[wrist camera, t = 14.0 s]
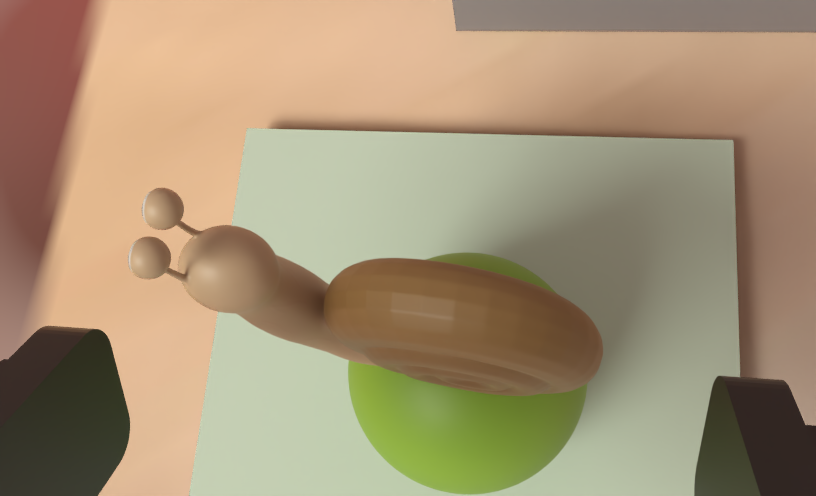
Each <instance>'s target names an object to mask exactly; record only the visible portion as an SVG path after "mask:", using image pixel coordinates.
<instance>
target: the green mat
mask: <svg viewBox="0 0 816 496" xmlns="http://www.w3.org/2000/svg"><path fill="white" fill-rule="evenodd" d="M232 226H238V227H242V228H245V229H248V230H250V231H252V232H254V233H256V234H257V235H259V236H260V237H262V238H263V239H264V240H265V241H266V242H267V243H268V244H269V245H270V247H271V248H272V249H273V251H274V253H275V255H278V256H280V257H283V258H285V259H287V260H290V261H292V262H294V263H296V264H298V265H300V266H302V267H304V268H305V269H307V270H309V271H311V272H312V273H314V274H315V275H317V276H318V277H320V278H321V279H322V280H323V281H325V282H326V283H328V284H329V285H330V283H331V281H332V280H333V279H334V278H335V277H336V276H337V275H338V274H339V273H340V272H341V271H342V270H344V269H345V268H347V267H349V266H351V265H353V264H356V263H359V262H362V261H365V260H371V259H378V258H410V259H422V260H426V259H429V258H432V257H436V256H440V255H444V254H451V253H463V252H470V253H482V254H488V255H493V256H497V257H501V258H504V259H507V260H510V261H512V262H514V263H517V264H519V265H521V266H523V267H525V268H526V269H528V270H530V271H531V272H533V273H534V274H536V275H537V276H538V277H540V278H541V279H542V280H544V281H545V282H546V283H547V284H548V285H549V286H550V287H551V288H552V289H553V290H554V291H555V292H556V293H557V294H558V295H560V296H562V297H563V298H565V299H567V300H569V301H570V302H572V303H573V304H575V305H576V306H578V307H579V308H580V309H581V310H582V311H584V312H585V313H586V314H587V315H588V316H589V317H590V318H591V320H592V321H593V322H594V324H595V326H596V327H597V329H598V331H599V333H600V335H601V338H602V343H603V357H602V360H601V364H600V367H599V369H598V371H597V373H596V374H595V376H594V377H593V378H592V379H591V380H590V381H589V382H588V383H587V392H586V398H585V403H584V407H583V410H582V413H581V416H580V419H579V421H578V424H577V426H576V428H575V430H574V432H573V434H572V436H571V437H570V439H569V440H568V442H567V443H566V445H565V446H564V448H563V449H562V450H561V451H560V453H559V454H558V455H557V456H556V457H555V458H554V459H553V460H552V461H551V462H550V463H549V464H548V465H547V466H546V467H544V468H543V469H542V470H541V471H539V472H538V473H537V474H535V475H534V476H532V477H530V478H529V479H527V480H525V481H523V482H521V483H519V484H517V485H515V486H512V487H509V488H506V489H503V490H500V491H496V492H491V493H485V494H454V493H448V492H443V491H439V490H435V489H432V488H429V487H426V486H424V485H422V484H419V483H417V482H415V481H413V480H411V479H410V478H408V477H406V476H405V475H403V474H402V473H400V472H399V471H397V470H396V469H395V468H394V467H392V466H391V465H390V464H389V463H388V462H387V461H386V460H385V459H384V458H383V457H382V456H381V455H380V454H379V453H378V452H377V451H376V449H375V448H374V447H373V446H372V444H371V443H370V441H369V440H368V438H367V437H366V435H365V433H364V432H363V430H362V428H361V426H360V424H359V422H358V419H357V417H356V414H355V411H354V408H353V405H352V401H351V396H350V391H349V383H348V362H349V360H346V359H344V358H341V357H338V356H336V355H333V354H331V353H328V352H325V351H322V350H319V349H315V348H312V347H308V346H305V345H302V344H298V343H294V342H290V341H287V340H284V339H281V338H279V337H276V336H274V335H271V334H269V333H267V332H265V331H263V330H261V329H259V328H257V327H255V326H254V325H252V324H251V323H249V322H248V321H246V320H245V319H244V318H242V317H241V316H239V315H238V314H236V313H223V312H218V315H217V321H216V328H215V334H214V340H213V347H212V353H211V359H210V366H209V372H208V378H207V385H206V391H205V397H204V404H203V410H202V416H201V423H200V429H199V435H198V442H197V448H196V454H195V461H194V467H193V473H192V480H191V486H190V492H189V496H694V484H695V472H696V466H697V461H698V456H699V451H700V446H701V440H702V435H703V430H704V425H705V420H706V415H707V410H708V405H709V400H710V395H711V390H712V386H713V383H714V381H715V379H716V377H717V376H731V377H740V350H739V316H738V281H737V247H736V212H735V178H734V143H733V140H711V139H670V138H629V137H587V136H546V135H505V134H464V133H422V132H381V131H340V130H299V129H257V128H247V131H246V138H245V144H244V150H243V157H242V163H241V169H240V176H239V182H238V188H237V195H236V201H235V207H234V214H233V220H232Z"/></svg>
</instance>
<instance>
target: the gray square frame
mask: <svg viewBox="0 0 816 496" xmlns="http://www.w3.org/2000/svg"><path fill="white" fill-rule="evenodd" d="M452 2H453V9H454V16H455V24H456V31H673V32H816V0H452Z"/></svg>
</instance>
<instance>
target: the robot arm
mask: <svg viewBox="0 0 816 496" xmlns="http://www.w3.org/2000/svg"><path fill="white" fill-rule="evenodd" d="M129 433H130V418H129V413H128V409H127V405H126V401H125V398H124V394H123V390H122V386H121V382H120V378H119V374H118V371H117V367H116V363H115V359H114V355H113V351H112V347H111V344H110V341H109V339H108V337H107V335H106V334H105V333H104V332H103V331H101V330H99V329H86V328H72V327H58V326H45V327H42V328H40V329H39V330H38V331H36V332H35V333H34V334H33V335H32V336H31V337H30V338H29V339H28V340H27V341H26V342H25V343H24V344H23V345H22V346H21V347H20V348H19V349H18V350H17V351H16V352H15V353H14V354H13V355H12V356H11V357H10V358H9V359H8V360H6V359H4V360H2V361H0V496H98V495H99V493H100V492H101V490H102V489H103V487H104V486H105V484H106V483H107V481H108V480H109V478H110V477H111V475H112V474H113V472H114V471H115V469H116V468H117V466H118V465H119V463H120V461H121V460H122V458H123V456H124V453H125V451H126V448H127V444H128V440H129ZM694 496H816V426H811V425H805V423H804V421H803V418H802V416H801V414H800V411H799V409H798V407H797V404H796V402H795V400H794V397H793V395H792V392H791V390H790V388H789V386H788V384H787V383H786V382H785V381H783V380H773V379H759V378H745V377H731V376H717V377H716V379H715V381H714V383H713V386H712V390H711V395H710V400H709V405H708V410H707V415H706V420H705V425H704V430H703V435H702V440H701V446H700V451H699V456H698V461H697V466H696V472H695V484H694Z"/></svg>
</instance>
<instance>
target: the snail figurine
mask: <svg viewBox="0 0 816 496" xmlns="http://www.w3.org/2000/svg"><path fill="white" fill-rule="evenodd" d="M183 212H184V206H183V202H182V200H181V198H180V197H179V196H178V194H176V193H175V192H174V191H172V190H170V189H166V188H157V189H154V190H152V191H151V192H149V193H148V194H147V195H146V197H145V199H144V202H143V205H142V215H143V219H144V221H145V222H146V223H147V224H148V225H149V226H150V227H152V228H154V229H158V230H166V229H170V228H172V227H174V226H175V225H177V226H178V227H180V228H181V229H183V230H184V231H186V232H187V233H189V234H190V235H192V236H193V237H192V238H191V239H190V240H189V241H188V242H187V243H186V245H185V246H184V248H183V249H182V251H181V254H180V256H179V261H178V271H179V272H177V271H174V270H172V269H170V268H168V267H169V265H170V262H171V254H170V251H169V248H168V247H167V245H166V244H165V243H164V242H163V241H161V240H160V239H158V238H155V237H143V238H141V239H138V240H137V241H135V242H134V243H133V245H132V247H131V249H130V252H129V256H128V264H129V268H130V270H131V271H132V272H133V273H134V274H135V275H136V276H137V277H139V278H142V279H154V278H157V277H159V276H161V275H163V274H164V273H167V274H169V275H171V276H173V277H175V278H177V279H178V280H180V281H181V282H182V284H183V286H184V288H185V289H186V291H187V292H188V294H189V295H190V296H191V297H192V298H193V299H194V300H196V301H197V302H198V303H200V304H201V305H203V306H205V307H207V308H209V309H212V310H215V311H218V312H223V313H236V314H238V315H239V316H241V317H242V318H244V319H245V320H246V321H248V322H249V323H251V324H252V325H254V326H255V327H257V328H259V329H261V330H263V331H265V332H267V333H269V334H271V335H274V336H276V337H279V338H281V339H284V340H287V341H290V342H294V343H298V344H302V345H305V346H308V347H312V348H315V349H319V350H322V351H325V352H328V353H331V354H333V355H336V356H338V357H341V358H344V359H346V360H349V362H348V383H349V391H350V396H351V401H352V405H353V408H354V411H355V414H356V417H357V419H358V422H359V424H360V426H361V428H362V430H363V432H364V433H365V435H366V437H367V438H368V440H369V441H370V443H371V444H372V446H373V447H374V448H375V449H376V451H377V452H378V453H379V454H380V455H381V456H382V457H383V458H384V459H385V460H386V461H387V462H388V463H389V464H390V465H391V466H392V467H394V468H395V469H396V470H397V471H399V472H400V473H402V474H403V475H405V476H406V477H408V478H410V479H411V480H413V481H415V482H417V483H419V484H422V485H424V486H426V487H429V488H432V489H435V490H439V491H443V492H448V493H454V494H485V493H491V492H496V491H500V490H503V489H506V488H509V487H512V486H515V485H517V484H519V483H521V482H523V481H525V480H527V479H529V478H530V477H532V476H534V475H535V474H537V473H538V472H539V471H541V470H542V469H543V468H544V467H546V466H547V465H548V464H549V463H550V462H551V461H552V460H553V459H554V458H555V457H556V456H557V455H558V454H559V453H560V451H561V450H562V449H563V448H564V446H565V445H566V443H567V442H568V440H569V439H570V437H571V436H572V434H573V432H574V430H575V428H576V426H577V424H578V421H579V419H580V416H581V413H582V410H583V407H584V403H585V398H586V392H587V383H588V382H589V381H590V380H591V379H592V378H593V377H594V376H595V374H596V373H597V371H598V369H599V367H600V364H601V360H602V357H603V343H602V338H601V335H600V333H599V331H598V329H597V327H596V326H595V324H594V322H593V321H592V320H591V318H590V317H589V316H588V315H587V314H586V313H585V312H584V311H582V310H581V309H580V308H579V307H578V306H576V305H575V304H573V303H572V302H570V301H569V300H567V299H565V298H563V297H562V296H560V295H558V294H557V293H556V292H555V291H554V290H553V289H552V288H551V287H550V286H549V285H548V284H547V283H546V282H545V281H544V280H542V279H541V278H540V277H538V276H537V275H536V274H534V273H533V272H531V271H530V270H528V269H526V268H525V267H523V266H521V265H519V264H517V263H514V262H512V261H510V260H507V259H504V258H501V257H497V256H493V255H488V254H482V253H470V252H463V253H451V254H444V255H440V256H436V257H432V258H429V259H426V260H422V259H410V258H378V259H371V260H365V261H362V262H359V263H356V264H353V265H351V266H349V267H347V268H345V269H344V270H342V271H341V272H340V273H339V274H338V275H337V276H336V277H335V278H334V279H333V280H332V281H331V283H330V285H329V284H328V283H326V282H325V281H323V280H322V279H321V278H320V277H318V276H317V275H315V274H314V273H312V272H311V271H309V270H307V269H305V268H304V267H302V266H300V265H298V264H296V263H294V262H292V261H290V260H287V259H285V258H283V257H280V256H278V255H275V253H274V251H273V249H272V248H271V247H270V245H269V244H268V243H267V242H266V241H265V240H264V239H263V238H262V237H260V236H259V235H257V234H256V233H254V232H252V231H250V230H248V229H245V228H242V227H238V226H231V225H223V226H216V227H211V228H208V229H206V230H204V231H197V230H195V229H193V228H191V227H189V226H188V225H186V224H185V223H183V222H182V221H180V220H181V218H182V216H183Z"/></svg>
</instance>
